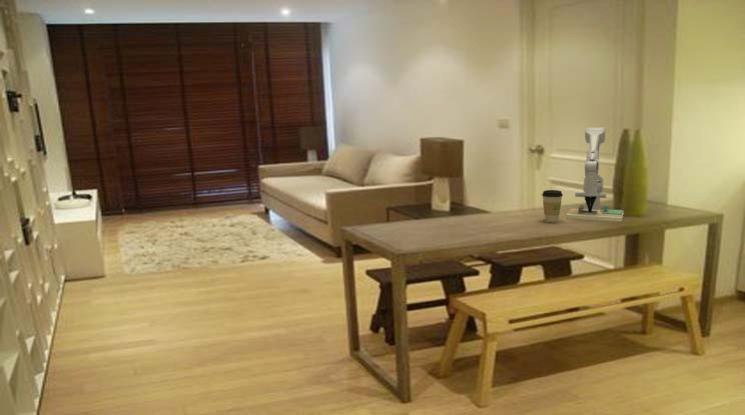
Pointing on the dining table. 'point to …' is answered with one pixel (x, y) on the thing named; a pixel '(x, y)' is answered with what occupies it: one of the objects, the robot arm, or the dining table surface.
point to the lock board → (594, 216)
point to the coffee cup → (552, 205)
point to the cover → (611, 211)
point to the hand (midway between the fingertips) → (590, 211)
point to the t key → (583, 210)
